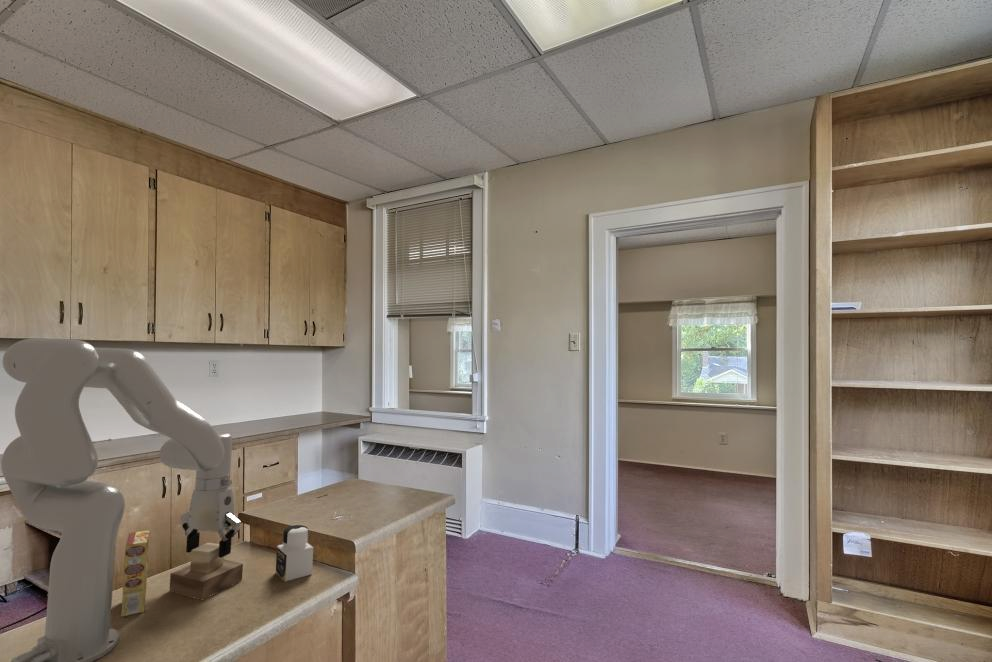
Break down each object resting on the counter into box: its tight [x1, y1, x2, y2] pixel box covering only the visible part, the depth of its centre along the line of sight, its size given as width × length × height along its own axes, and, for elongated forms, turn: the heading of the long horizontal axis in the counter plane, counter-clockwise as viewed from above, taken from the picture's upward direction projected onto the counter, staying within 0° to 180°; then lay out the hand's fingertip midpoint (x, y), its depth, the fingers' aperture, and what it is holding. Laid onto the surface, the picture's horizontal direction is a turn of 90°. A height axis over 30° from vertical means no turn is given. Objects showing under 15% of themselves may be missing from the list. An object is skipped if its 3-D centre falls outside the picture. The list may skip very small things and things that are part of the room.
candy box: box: [120, 530, 150, 617], centre depth 109 cm, size 9×4×15 cm, turn 33°
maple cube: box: [190, 542, 225, 573], centre depth 120 cm, size 5×5×5 cm
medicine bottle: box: [275, 524, 314, 582], centre depth 128 cm, size 7×7×12 cm
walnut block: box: [168, 558, 244, 600], centre depth 120 cm, size 11×11×4 cm
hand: (208, 553), depth 120 cm, fingers open, 9 cm apart
